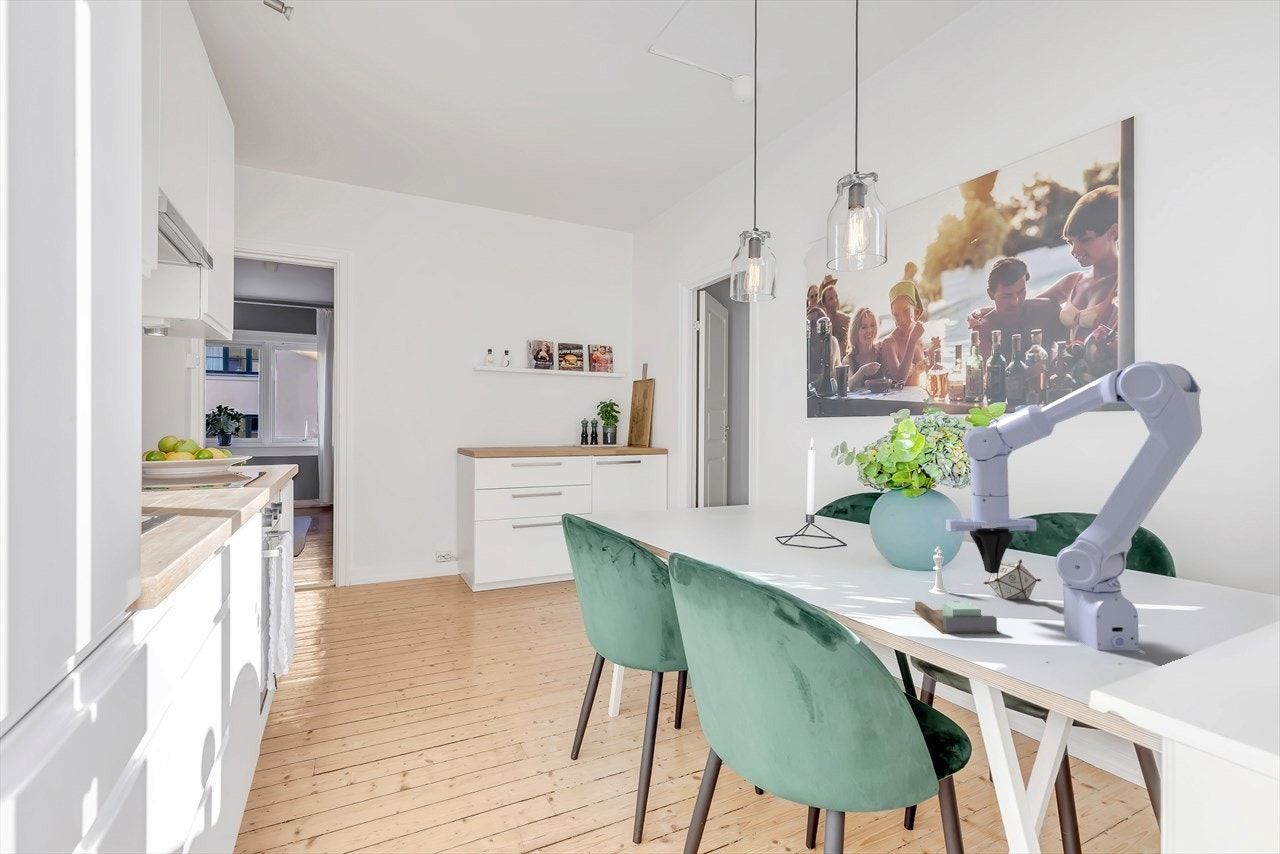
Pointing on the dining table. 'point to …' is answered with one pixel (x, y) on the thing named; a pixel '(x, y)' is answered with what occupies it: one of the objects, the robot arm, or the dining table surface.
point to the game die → (1012, 581)
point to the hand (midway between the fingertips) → (991, 572)
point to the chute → (957, 621)
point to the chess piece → (938, 573)
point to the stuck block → (960, 609)
